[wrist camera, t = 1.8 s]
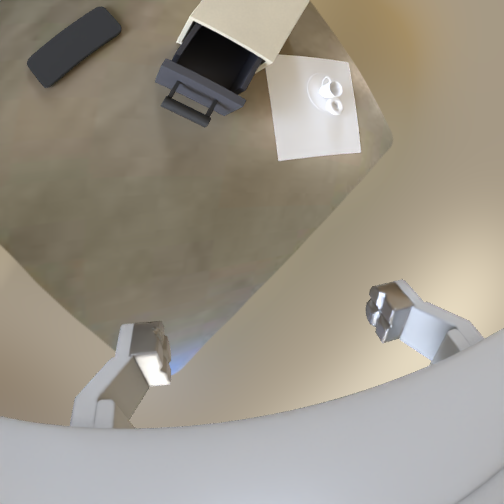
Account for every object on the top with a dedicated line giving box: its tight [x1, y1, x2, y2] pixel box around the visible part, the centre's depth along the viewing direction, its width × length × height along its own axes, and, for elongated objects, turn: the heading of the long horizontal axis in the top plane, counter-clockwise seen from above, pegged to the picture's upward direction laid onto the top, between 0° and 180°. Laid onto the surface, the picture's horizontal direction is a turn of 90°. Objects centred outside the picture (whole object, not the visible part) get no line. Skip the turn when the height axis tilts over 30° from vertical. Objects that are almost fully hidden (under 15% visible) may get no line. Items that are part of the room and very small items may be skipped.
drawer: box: [155, 23, 263, 127], centre depth 37 cm, size 19×12×8 cm, turn 153°
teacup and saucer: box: [306, 72, 345, 116], centre depth 49 cm, size 9×8×4 cm
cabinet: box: [177, 0, 310, 74], centre depth 36 cm, size 16×14×10 cm
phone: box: [27, 7, 121, 88], centre depth 31 cm, size 7×1×15 cm
